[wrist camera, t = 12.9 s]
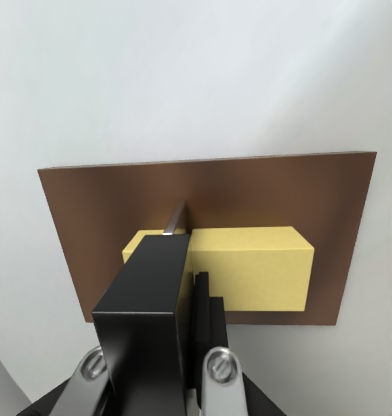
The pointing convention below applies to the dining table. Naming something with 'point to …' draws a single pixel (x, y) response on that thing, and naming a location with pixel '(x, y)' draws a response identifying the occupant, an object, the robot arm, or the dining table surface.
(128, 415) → the knife
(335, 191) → the butter board
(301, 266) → the butter
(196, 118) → the dining table surface
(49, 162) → the dining table surface
